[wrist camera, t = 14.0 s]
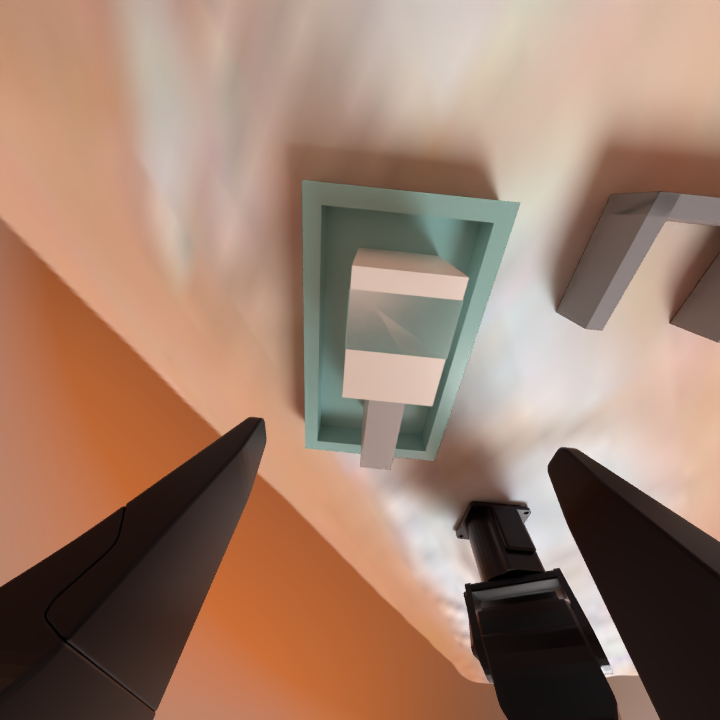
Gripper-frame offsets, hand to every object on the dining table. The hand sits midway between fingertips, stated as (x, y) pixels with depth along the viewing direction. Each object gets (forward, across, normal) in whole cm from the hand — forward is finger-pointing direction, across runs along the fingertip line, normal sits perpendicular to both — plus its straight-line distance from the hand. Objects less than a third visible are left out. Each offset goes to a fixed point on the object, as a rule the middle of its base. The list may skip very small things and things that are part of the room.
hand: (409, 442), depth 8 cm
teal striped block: (+12, 0, +2) cm, 12 cm away
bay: (+13, -16, -4) cm, 21 cm away
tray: (+12, 0, +2) cm, 13 cm away
